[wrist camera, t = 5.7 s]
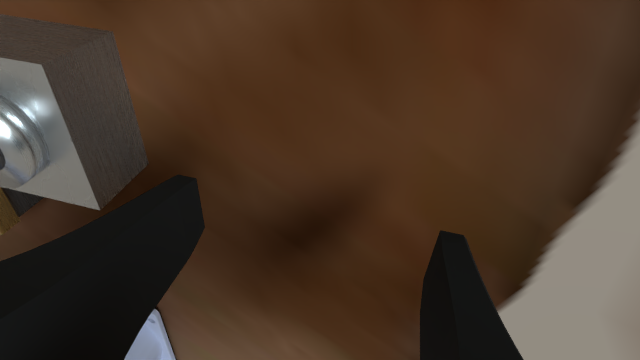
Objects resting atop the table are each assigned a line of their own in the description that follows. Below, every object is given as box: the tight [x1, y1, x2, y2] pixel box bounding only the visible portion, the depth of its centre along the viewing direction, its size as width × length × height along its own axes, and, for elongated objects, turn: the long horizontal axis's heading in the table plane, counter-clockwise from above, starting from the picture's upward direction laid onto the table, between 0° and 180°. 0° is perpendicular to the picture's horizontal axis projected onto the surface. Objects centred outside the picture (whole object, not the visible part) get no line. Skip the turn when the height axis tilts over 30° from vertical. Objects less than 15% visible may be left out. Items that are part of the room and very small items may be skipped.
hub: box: [0, 14, 149, 210], centre depth 15 cm, size 6×6×5 cm
